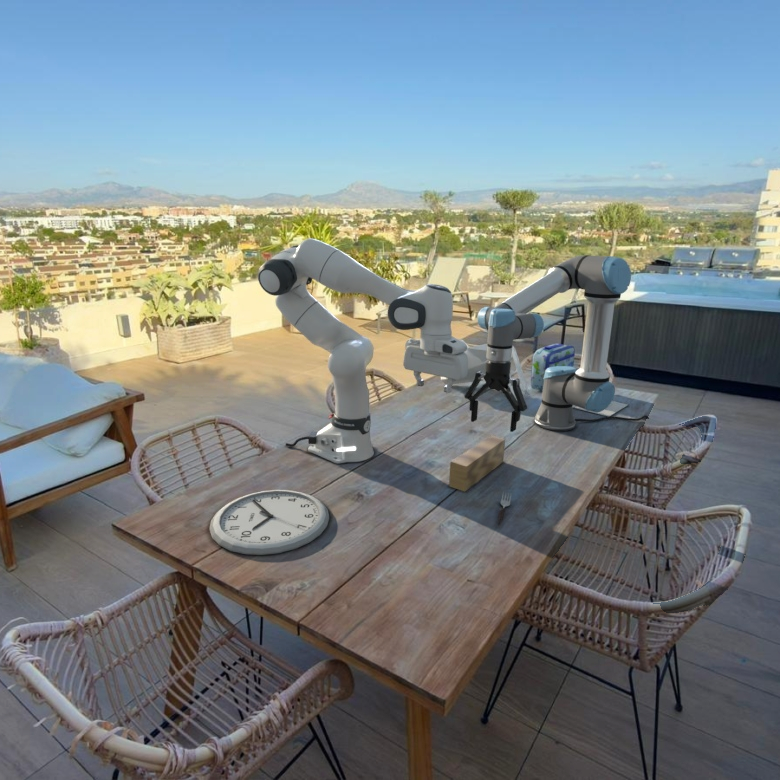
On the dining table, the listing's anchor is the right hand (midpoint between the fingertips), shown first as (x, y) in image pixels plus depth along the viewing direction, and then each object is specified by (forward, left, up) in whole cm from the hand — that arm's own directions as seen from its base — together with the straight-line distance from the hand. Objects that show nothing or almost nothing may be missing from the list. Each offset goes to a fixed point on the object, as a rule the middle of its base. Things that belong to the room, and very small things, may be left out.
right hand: (493, 425), depth 166 cm
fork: (-2, +30, -13) cm, 33 cm away
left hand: (+19, +11, +14) cm, 26 cm away
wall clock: (+58, +43, -13) cm, 74 cm away
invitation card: (-52, -66, -13) cm, 85 cm away
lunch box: (-35, -91, -13) cm, 98 cm away
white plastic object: (0, -78, -13) cm, 79 cm away
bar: (+4, +8, -13) cm, 16 cm away
